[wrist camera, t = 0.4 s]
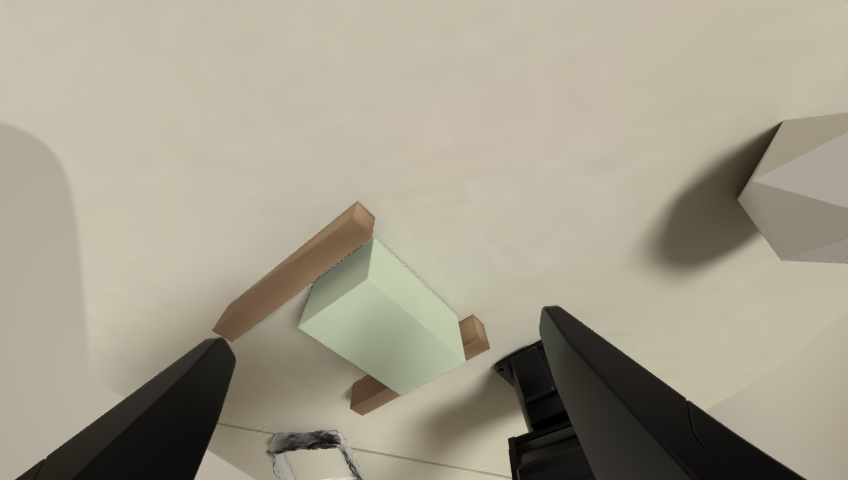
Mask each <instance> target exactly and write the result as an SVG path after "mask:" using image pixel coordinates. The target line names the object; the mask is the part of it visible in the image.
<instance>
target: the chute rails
mask: <svg viewBox="0 0 848 480" xmlns="http://www.w3.org/2000/svg"><path fill="white" fill-rule="evenodd" d="M374 220H375V217H374V216H373V215H372V214H371V213H370V212H369V211H368V210H367V209H365V208H364V207H363V206H362V205H361V204H360V203H359V202H358V201H357V202H356V203H355V204H354V205H352V206H351V207H350V208H349V209H348V210H346V211H345V212H344V213H343V214H341V215H340V216H339V217H338V218H336V219H335V220H334V221H333V222H331V223H330V224H329V225H328V226H327V227H325V228H324V229H323V230H322V231H320V232H319V233H318V234H317V235H315V236H314V237H313V238H312V239H310V240H309V241H308V242H307V243H305V244H304V245H303V246H302V247H301V248H299V249H298V250H297V251H296V252H294V253H293V254H292V255H291V256H289V257H288V258H287V259H286V260H284V261H283V262H282V263H281V264H280V265H278V266H277V267H276V268H275V269H273V270H272V271H271V272H270V273H268V274H267V275H266V276H265V277H263V278H262V279H261V280H260V281H259V282H257V283H256V284H255V285H254V286H252V287H251V288H250V289H249V290H247V291H246V292H245V293H244V294H242V295H241V296H240V297H239V298H238V299H236V300H235V301H234V302H233V303H231V304H230V305H229V306H228V307H227V309H226V310H225V312H224V313H223V315H222V316H221V318H220V319H219V321H218V322H217V324H216V325H215V327H214V328H213V330H212V331H214V332H215V333H217V334H219V335H221V336H222V337H224V338H226V339H228V340H229V341H231V342H233V341H234V340H235V339H237V338H238V337H239V336H241V335H242V334H243V333H245V332H246V331H247V330H249V329H250V328H251V327H253V326H254V325H255V324H257V323H258V322H259V321H261V320H262V319H263V318H265V317H266V316H267V315H269V314H270V313H271V312H273V311H274V310H275V309H277V308H278V307H279V306H281V305H282V304H283V303H285V302H286V301H287V300H289V299H290V298H291V297H293V296H294V295H295V294H297V293H298V292H299V291H301V290H302V289H303V288H305V287H306V286H307V285H309V284H310V283H311V282H313V281H314V280H315V279H317V278H318V277H319V276H321V275H322V274H323V273H325V272H326V271H327V270H329V269H330V268H331V267H333V266H334V265H335V264H337V263H338V262H339V261H341V260H342V259H343V258H345V257H346V256H347V255H349V254H350V253H351V252H353V251H354V250H355V249H357V248H358V247H359V246H361V245H362V244H363V243H365V242H366V241H367V240H369V239H370V238H371V237H372V232H373V226H374ZM459 328H460V333H461V339H462V344H463V349H464V354H465V359H466V361H467V360H469V359H471V358H473V357H474V356H476V355H478V354H480V353H482V352H484V351H486V350H488V349H490V346H489V343H488V339H487V336H486V332H485V328H484V325H483V324H482V323H481V322H480V321H479V320H478V319H477V318H476V317H475V316H474V315H471V316H470V317H468V318H466V319H464V320H463V321H461V322H459ZM399 396H401V395H400V394H398V393H397V392H395V391H393V390H392V389H390V388H389V387H387V386H386V385H384V384H383V383H381V382H380V381H378V380H377V379H375V378H374V377H372V376H371V375H367V376H366V377H364V378H362V379H360V380H359V381H357V382H355V383H354V385H353V392H352V398H351V405H350V409H352V410H353V411H355V412H357V413H359V414H360V415H362V416H363V415H365V414H367V413H369V412H370V411H372V410H374V409H376V408H378V407H380V406H382V405H384V404H386V403H387V402H389V401H391V400H393V399H395V398H397V397H399Z"/></svg>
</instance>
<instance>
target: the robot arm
mask: <svg viewBox="0 0 848 480" xmlns="http://www.w3.org/2000/svg"><path fill="white" fill-rule="evenodd" d="M539 332H540V336H541V340H542V341H541V342H539V343H537V344H535V345H533V346H531V347H529V348H527V349H525V350H523V351H521V352H519V353H517V354H515V355H513V356H511V357H509V358H507V359H505V360H503V361H501V362H499V363H497V364H496V365H495V369H496V371H497V372H498V373H499V374H500V375H501V376H502V377H503V378H504V379H505V380H506V381H508V382H509V383H510V384H511V385H512V386H513V387H514V388H515V391H516V394H517V397H518V400H519V403H520V407H521V410H522V413H523V416H524V419H525V422H526V426H527V429H528V432H529V433H526V434H523V435H520V436H518V437H511V438H508V443H509V457H510V465H511V472H512V480H807V479H805V478H804V477H802V476H800V475H799V474H797V473H796V472H794V471H793V470H791V469H789V468H788V467H786V466H785V465H783V464H782V463H780V462H778V461H777V460H775V459H774V458H772V457H771V456H769V455H768V454H766V453H764V452H763V451H761V450H760V449H759V448H757V447H755V446H754V445H752V444H751V443H749V442H748V441H746V440H745V439H743V438H742V437H740V436H739V435H737V434H736V433H734V432H733V431H731V430H730V429H728V428H727V427H726V426H724V425H723V424H721V423H720V422H719V421H717V420H716V419H714V418H713V417H711V416H710V415H709V414H707V413H706V412H704V411H703V410H702V409H700V408H699V407H698V406H696V405H695V404H693V403H692V402H691V401H686V398H685V397H684V396H682V395H681V394H679V393H678V392H677V391H675V390H674V389H673V388H671V387H670V386H668V385H667V384H666V383H664V382H663V381H662V380H660V379H659V378H657V377H656V376H655V375H653V374H652V373H651V372H649V371H648V370H646V369H645V368H644V367H642V366H641V365H640V364H638V363H637V362H635V361H634V360H633V359H631V358H630V357H629V356H627V355H626V354H624V353H623V352H622V351H620V350H619V349H617V348H616V347H615V346H613V345H612V344H611V343H609V342H608V341H606V340H605V339H604V338H602V337H601V336H600V335H598V334H597V333H595V332H594V331H593V330H591V329H590V328H589V327H587V326H586V325H584V324H583V323H582V322H580V321H579V320H578V319H576V318H575V317H573V316H572V315H571V314H569V313H568V312H567V311H565V310H564V309H562V308H561V307H559V306H556V305H555V306H545V307H543V308H542V311H541V318H540V326H539ZM235 363H236V358H235V355H234V353H233V352H232V350H231V348H230V347H229V345H228V343H227V342H226V340H225V339H224V338H221V337H219V338H209V339H206V340H204V341H203V342H202V343H200V344H199V345H197V346H196V347H195V348H193V349H192V350H191V351H189V352H188V353H187V354H185V355H184V356H183V357H181V358H180V359H178V360H177V361H176V362H174V363H173V364H172V365H170V366H169V367H168V368H166V369H165V370H164V371H162V372H161V373H159V374H158V375H157V376H155V377H154V378H153V379H151V380H150V381H149V382H147V383H146V384H145V385H143V386H142V387H140V388H139V389H138V390H136V391H135V392H134V393H132V394H131V395H130V396H128V397H127V398H125V399H124V400H123V401H121V402H120V403H119V404H117V405H116V406H115V407H114V408H112V409H111V410H109V411H108V412H106V413H105V414H104V415H102V416H101V417H100V418H98V419H97V420H96V421H94V422H93V423H92V424H90V425H89V426H87V427H86V428H85V429H83V430H82V431H81V432H79V433H78V434H77V435H75V436H74V437H73V438H72V439H70V440H68V441H67V442H66V443H64V444H63V445H62V446H60V447H59V448H58V449H56V450H55V451H54V452H52V453H51V454H49V455H48V456H47V458H46V459H43V460H41V461H40V462H38V463H37V464H36V465H35V466H33V467H32V468H30V469H29V470H28V471H26V472H25V473H24V474H23V475H21V476H20V477H18V478H17V479H15V480H194V479H195V476H196V474H197V471H198V469H199V466H200V464H201V462H202V459H203V456H204V454H205V452H206V449H207V447H208V444H209V442H210V440H211V437H212V435H213V432H214V430H215V427H216V425H217V422H218V419H219V416H220V413H221V411H222V407H223V404H224V401H225V397H226V394H227V391H228V387H229V384H230V381H231V377H232V374H233V371H234V367H235Z"/></svg>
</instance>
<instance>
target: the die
mask: <svg viewBox="0 0 848 480" xmlns="http://www.w3.org/2000/svg"><path fill="white" fill-rule="evenodd" d="M737 200H738V202H739V203H740V204H741V206H742V207H743V209H744V210H745V211H746V213H747V214H748V215H749V217H750V218H751V220H752V221H753V222H754V224H755V225H756V226H757V228H758V229H759V231H760V232H761V233H762V235H763V236H764V238H765V239H766V240H767V242H768V243H769V244H770V246H771V247H772V249H773V250H774V251H775V253H776V254H777V255H778V257H779V258H780V260H783V261H804V262H825V263H846V264H848V112H844V113H837V114H830V115H822V116H815V117H807V118H800V119H793V120H785V121H783V123H782V124H781V126H780V128H779V129H778V131H777V133H776V134H775V136H774V138H773V140H772V141H771V143H770V145H769V146H768V148H767V150H766V151H765V153H764V155H763V157H762V158H761V160H760V162H759V163H758V165H757V167H756V169H755V170H754V172H753V174H752V175H751V177H750V179H749V180H748V182H747V184H746V186H745V187H744V189H743V191H742V192H741V194H740V196H739V198H738V199H737Z"/></svg>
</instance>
